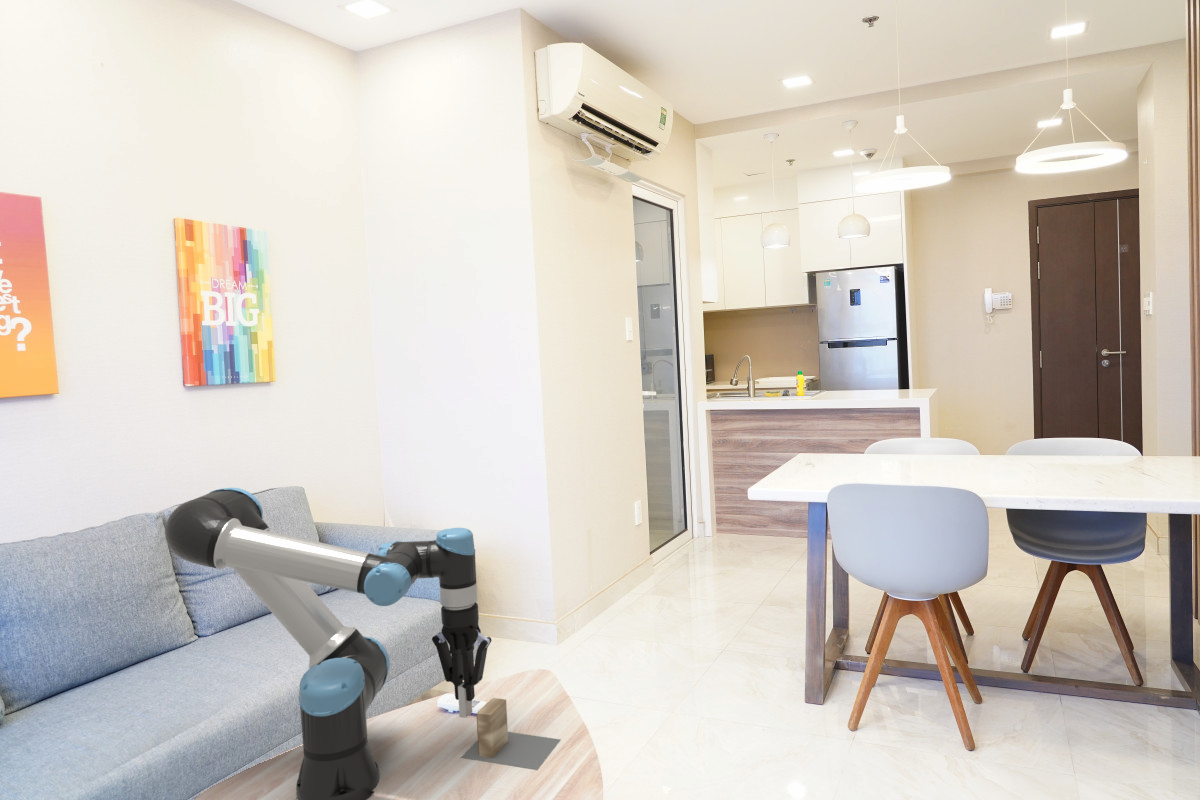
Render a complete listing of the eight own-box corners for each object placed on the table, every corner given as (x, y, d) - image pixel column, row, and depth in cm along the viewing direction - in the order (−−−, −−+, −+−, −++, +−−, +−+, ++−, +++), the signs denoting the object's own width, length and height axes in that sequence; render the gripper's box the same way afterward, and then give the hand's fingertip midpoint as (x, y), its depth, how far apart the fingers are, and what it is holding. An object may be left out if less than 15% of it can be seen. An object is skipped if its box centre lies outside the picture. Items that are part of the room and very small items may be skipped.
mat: (460, 760, 156) (460, 757, 156) (488, 731, 168) (488, 728, 168) (537, 772, 151) (537, 770, 151) (560, 742, 162) (560, 739, 162)
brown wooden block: (478, 755, 157) (475, 713, 156) (494, 738, 163) (492, 697, 163) (492, 758, 156) (490, 715, 155) (508, 741, 162) (506, 699, 162)
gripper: (496, 600, 161) (502, 709, 163) (441, 596, 165) (447, 702, 167) (478, 612, 154) (485, 727, 155) (422, 607, 158) (429, 719, 160)
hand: (465, 714), depth 161 cm, fingers closed
